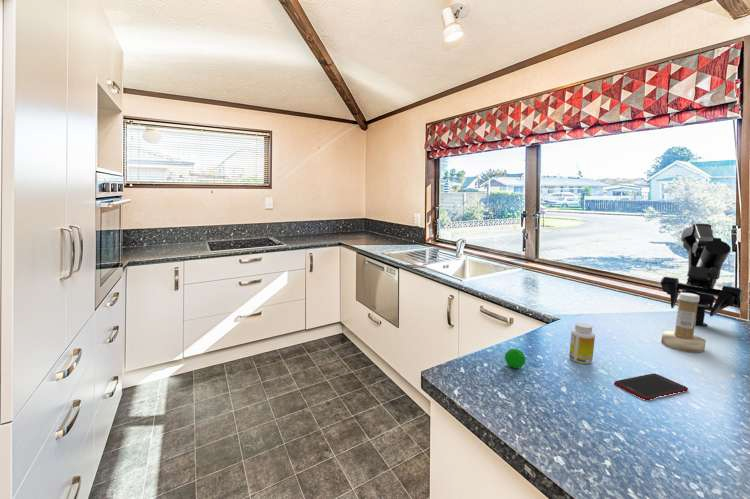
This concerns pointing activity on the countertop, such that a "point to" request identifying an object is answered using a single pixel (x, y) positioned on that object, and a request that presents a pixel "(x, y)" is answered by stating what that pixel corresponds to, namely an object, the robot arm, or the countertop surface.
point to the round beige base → (683, 343)
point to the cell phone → (650, 386)
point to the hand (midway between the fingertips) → (690, 311)
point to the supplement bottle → (582, 343)
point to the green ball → (515, 358)
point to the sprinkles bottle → (686, 315)
